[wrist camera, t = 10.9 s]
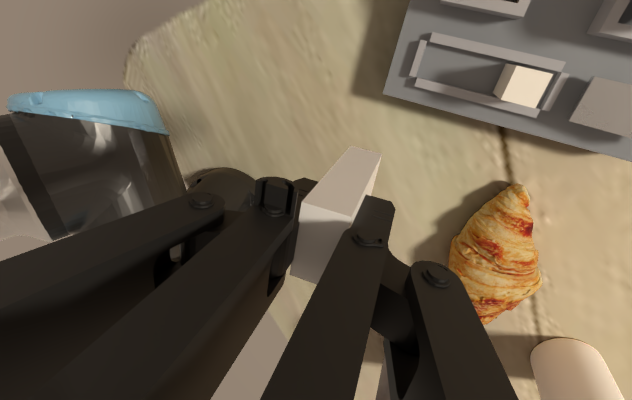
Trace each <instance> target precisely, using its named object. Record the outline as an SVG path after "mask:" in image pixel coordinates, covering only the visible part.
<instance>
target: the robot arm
mask: <svg viewBox="0 0 632 400" xmlns="http://www.w3.org/2000/svg"><path fill="white" fill-rule="evenodd" d="M7 101H8V104H7V109H8V110H9V111H10V112H11V111H12V112H13V113H12V114H7V115H1V116H0V241H1V240H4V239H8V238H11V237H13V236H16V235H25V236H29V237H32V238H36V239H39V240H43V241H47V242H50V241H54V240H56V239H59V238H62V237H65V236H68V235H70V234H73V236H70V237H67V238H64V239H61V240H58V241H56V242H53V243H50V244H47V245H45V246H42V247H39V248H36V249H34V250H31V251H28V252H25V253H22V254H20V255H17V256H14V257H12V258H9V259H6V260H3V261H0V400H210V399H211V397H212V396H213V394H214V393H215V391H216V389H217V388H218V386H219V385H220V383H221V381H222V380H223V379H224V377H225V375H226V374H227V372H228V371H229V369H230V368H231V366H232V364H233V363H234V361H235V360H236V358H237V356H238V355H239V353H240V352H241V350H242V349H243V347H244V345H245V344H246V342H247V341H248V339H249V337H250V336H251V334H252V333H253V331H254V330H255V328H256V327H257V325H258V323H259V322H260V320H261V319H262V317H263V315H264V314H265V312H266V311H267V309H268V308H269V306H270V304H271V303H272V301H273V300H274V298H275V297H276V295H277V293H278V292H279V290H280V289H281V287H282V286H283V283H284V280H285V274H286V270H287V269H288V267H289V266H290V264H291V269H290V275H292V276H295V277H298V278H301V279H303V280H306V281H309V282H312V283H315V284H317V286H316V288H315V290H314V292H313V294H312V296H311V298H310V300H309V302H308V304H307V306H306V308H305V310H304V312H303V314H302V316H301V318H300V320H299V322H298V324H297V326H296V328H295V330H294V332H293V334H292V336H291V338H290V340H289V342H288V344H287V346H286V348H285V351H284V352H283V354H282V356H281V359H280V361H279V363H278V365H277V367H276V369H275V371H274V373H273V375H272V377H271V379H270V381H269V383H268V385H267V387H266V389H265V391H264V393H263V395H262V397H261V399H260V400H354V396H355V392H356V387H357V383H358V378H359V374H360V370H361V365H362V361H363V356H364V352H365V348H366V343H367V339H368V334H369V330H370V327H371V328H372V329H373V330H375V331H376V332H378V333H379V334H381V335H382V336H384V343H383V344H384V352H385V360H386V368H387V376H388V384H389V392H390V400H519V399H518V397H517V395H516V393H515V391H514V389H513V387H512V385H511V383H510V381H509V379H508V377H507V374H506V372H505V370H504V368H503V366H502V364H501V362H500V360H499V358H498V356H497V354H496V351H495V349H494V347H493V345H492V343H491V341H490V339H489V337H488V335H487V333H486V331H485V329H484V326H483V324H482V322H481V320H480V318H479V316H478V314H477V312H476V310H475V308H474V306H473V303H472V301H471V299H470V297H469V295H468V293H467V291H466V289H465V287H464V285H463V283H462V281H461V280H460V278H459V277H458V276H457V275H456V274H455V273H454V272H453V271H451V270H450V269H449V268H447V267H445V266H443V265H441V264H439V263H435V262H431V261H419V262H415V263H414V264H413V265H412V266H411V267H409V266H408V265H406V264H404V263H402V262H401V261H399V260H398V259H397V258H395V257H394V256H393V255H392V253H391V252H390V251H389V248H388V240H389V235H390V231H391V226H392V222H393V218H394V213H395V207H394V206H393V204H392V202H390V201H387V200H383V199H380V198H377V197H373V196H371V193H372V189H373V185H374V182H375V178H376V174H377V171H378V167H379V163H380V160H381V156H382V154H381V153H377V152H373V151H370V150H366V149H362V148H358V147H354V146H350V147H349V148H348V149H347V150H346V151H345V153H344V154H343V155H342V156H341V157H340V158H339V159H338V161H337V162H336V163H335V164H334V165H333V166H332V168H331V169H330V170H329V171H328V172H327V173H326V174H325V176H324V177H323V178H322V179H321V180H320V181H319V182H317V181H314V180H310V179H307V178H302V179H298V180H295V181H294V182H292V181H290V180H287V179H285V178H280V177H263V178H260V179H257V180H256V181H255V180H254V179H253V178H252V177H250V176H249V175H247V174H245V173H243V172H241V171H239V170H235V169H231V168H217V169H213V170H211V171H209V172H207V173H205V174H203V175H201V176H200V177H198V178H197V179H196V180H195V181H194V182H193V183H192V184H191V186H190V187H189V188H188V190H186V187H185V184H184V181H183V178H182V175H181V173H180V170H179V167H178V164H177V161H176V158H175V155H174V152H173V149H172V146H171V143H170V140H169V137H168V136H170V134H169V131H167V130H166V128H165V126H164V123H163V121H162V118H161V116H160V113H159V111H158V108H157V106H156V104H155V102H154V101H153V100H152V98H150V97H149V96H148V95H146V94H144V93H142V92H139V91H135V90H121V89H75V90H54V91H46V92H35V93H19V94H14V95H11V96H9V98H8V99H7Z"/></svg>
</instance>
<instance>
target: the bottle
mask: <svg viewBox="0 0 632 400" xmlns="http://www.w3.org/2000/svg"><path fill="white" fill-rule="evenodd" d="M530 362H531V366H532V370H533V373H534V377H535V380H536V384H537V387H538V391H539V394H540V398H541V400H624V398H623V396H622V394H621V392H620V390H619V388H618V386H617V384H616V382H615V380H614V379H613V377H612V375H611V373H610V371H609V369H608V367H607V365H606V363H605V361H604V360H603V358H602V356H601V355H600V353H599V352H598V351H597V350H596V349H595V348H593V347H592V346H590V345H589V344H586V343H584V342H582V341H579V340H575V339H569V338H555V339H550V340H547V341H544V342H542V343H540V344H538V345H537V346H536V347H535V348H534V349H533V351H532V352H531V356H530Z"/></svg>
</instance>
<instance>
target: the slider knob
mask: <svg viewBox="0 0 632 400" xmlns="http://www.w3.org/2000/svg"><path fill="white" fill-rule="evenodd" d="M552 76H553V74H551V73H547V72H543V71H538V70H534V69H530V68H525V67H521V66H517V65H512V64H507V63H506V64H505V67H504V69H503V71H502V73H501V75H500V78H499V80H498V82H497V84H496V86H495V89H494V91H493V94H495V95H496V96H497V97H498V98H499V99H501V100H504V101H508V102H512V103H516V104H520V105H523V106H527V107H531V108H536V106H537V104H538V102H539V100H540V98H541V97H542V95H543V93H544V91H545V89H546V87H547V85H548V83H549V81H550V79H551V78H552Z"/></svg>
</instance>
